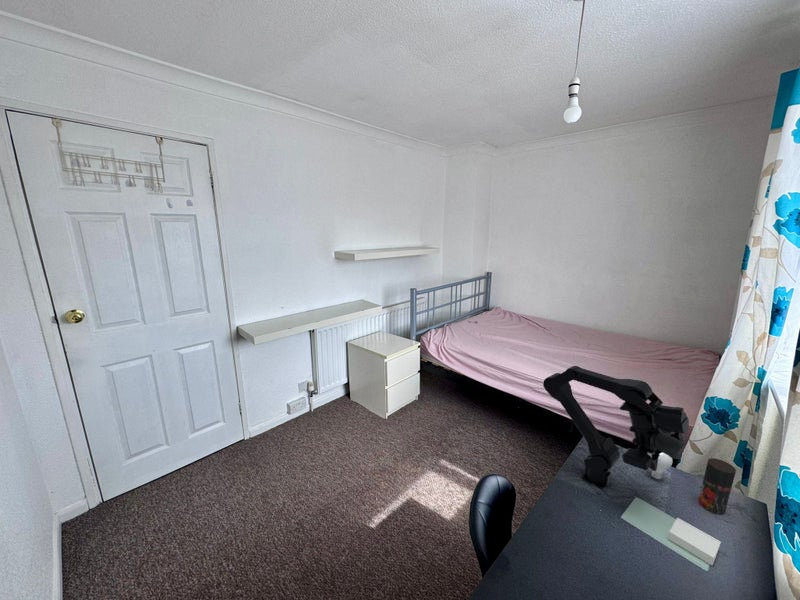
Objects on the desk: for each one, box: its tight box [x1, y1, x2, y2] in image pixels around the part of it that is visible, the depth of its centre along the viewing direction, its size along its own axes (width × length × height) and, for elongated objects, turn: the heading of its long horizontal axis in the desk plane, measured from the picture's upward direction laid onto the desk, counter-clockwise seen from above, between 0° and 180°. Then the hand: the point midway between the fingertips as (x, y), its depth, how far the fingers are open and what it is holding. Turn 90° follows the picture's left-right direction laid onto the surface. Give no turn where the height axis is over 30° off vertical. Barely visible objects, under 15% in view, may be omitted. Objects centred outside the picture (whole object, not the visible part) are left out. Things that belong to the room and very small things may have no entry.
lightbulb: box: [651, 452, 673, 480], centre depth 109 cm, size 6×6×11 cm
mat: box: [620, 496, 711, 572], centre depth 91 cm, size 19×12×1 cm, turn 37°
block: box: [668, 517, 722, 566], centre depth 86 cm, size 3×7×9 cm
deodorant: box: [697, 457, 737, 516], centre depth 96 cm, size 6×6×15 cm
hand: (654, 469), depth 98 cm, fingers closed
